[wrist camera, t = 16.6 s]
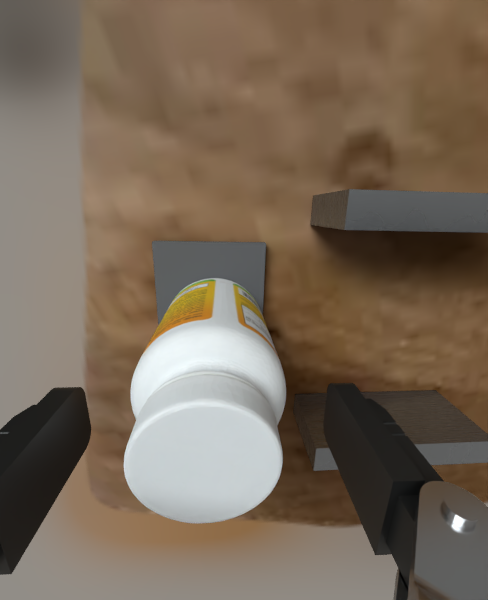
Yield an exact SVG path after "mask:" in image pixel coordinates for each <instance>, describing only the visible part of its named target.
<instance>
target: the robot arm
mask: <svg viewBox="0 0 488 600" xmlns="http://www.w3.org/2000/svg"><path fill="white" fill-rule="evenodd" d="M323 428H324V435H325V439H326V442H327V444H328V446H329V449H330V451H331V453H332V456H333V458H334V460H335V463H336V465H337V467H338V470H339V472H340V474H341V477H342V479H343V481H344V484H345V486H346V488H347V490H348V493H349V495H350V497H351V500H352V502H353V504H354V507H355V509H356V511H357V514H358V516H359V518H360V521H361V523H362V525H363V528H364V530H365V532H366V534H367V537H368V539H369V541H370V544H371V546H372V548H373V551H374V553H375V555H387V554H392V556H393V558H394V560H395V562H396V564H397V566H398V570H397V575H396V582H395V591H394V600H488V507H487V506H486V505H485V504H484V503H483V502H481V501H480V500H479V499H478V498H477V497H475V496H474V495H472V494H471V493H469V492H468V491H466V490H464V489H462V488H460V487H458V486H456V485H453V484H451V483H447V482H444V481H443V480H442V479H441V477H440V476H439V475H438V474H437V472H436V471H435V470H434V469H433V467H432V466H431V465H430V464H429V462H428V461H427V460H426V459H425V457H424V456H423V455H422V454H421V452H420V451H419V450H418V449H417V447H416V446H415V445H414V444H413V442H412V441H411V440H410V439H409V437H408V436H405V432H404V431H403V430H402V429H401V428H400V426H399V425H397V424H396V421H395V420H394V419H393V418H392V416H391V415H390V414H389V413H388V411H387V410H386V409H385V408H383V407H382V406H381V405H379V404H378V403H377V402H375V401H374V400H372V399H365V398H364V396H363V395H362V394H361V392H360V391H359V390H358V388H357V387H356V386H355V384H353V383H331V384H329V386H328V389H327V397H326V404H325V412H324V420H323ZM90 435H91V424H90V419H89V413H88V408H87V402H86V397H85V392H84V390H83V389H82V388H81V387H74V388H73V387H72V388H71V387H68V388H53V389H52V390H51V391H50V392H49V393H48V394H47V395H46V396H45V397H44V398H43V399H42V400H41V401H40V402H39V403H38V404H37V405H32V406H31V407H29V408H27V409H26V410H24V411H23V412H21V413H20V414H18V415H16V416H14V417H13V418H12V419H11V420H10V421H9V422H8V423H7V424H6V425H5V426H4V427H3V428H2V429H1V430H0V574H12V572H13V570H14V569H15V567H16V565H17V564H18V562H19V560H20V559H21V557H22V555H23V554H24V552H25V550H26V548H27V547H28V545H29V543H30V542H31V540H32V539H33V537H34V535H35V534H36V532H37V530H38V528H39V527H40V525H41V523H42V522H43V520H44V518H45V517H46V515H47V513H48V512H49V510H50V508H51V507H52V505H53V503H54V502H55V500H56V498H57V496H58V495H59V493H60V491H61V490H62V488H63V486H64V485H65V483H66V481H67V480H68V478H69V476H70V475H71V473H72V471H73V470H74V468H75V466H76V465H77V463H78V461H79V460H80V458H81V456H82V455H83V453H84V451H85V450H86V448H87V446H88V443H89V440H90Z"/></svg>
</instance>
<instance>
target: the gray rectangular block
mask: <svg viewBox="0 0 488 600" xmlns="http://www.w3.org/2000/svg"><path fill="white" fill-rule="evenodd" d="M152 247H153V260H154V273H155V286H156V298H157V311H158V324H160V322H161V321H162V319H163V317H164V315H165V313H166V312H167V310H168V308H169V306H170V304H171V303H172V301H173V300H174V298H175V297H176V296H177V295H178V293H179V292H180V291H181V290H183V289H184V288H185V287H187V286H188V285H190V284H192V283H194V282H197V281H200V280H203V279H209V278H220V279H226V280H230V281H233V282H235V283H237V284H239V285H241V286H242V287H243V288H245V289H246V290H247V291H248V292H249V293H250V294H251V295H252V296H253V297H254V299H255V300H256V302H257V304H258V306H259V308H260V310H261V313H262V315H263V298H264V276H265V254H266V243H265V242H202V241H153V242H152Z"/></svg>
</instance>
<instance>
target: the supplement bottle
mask: <svg viewBox="0 0 488 600" xmlns="http://www.w3.org/2000/svg"><path fill="white" fill-rule="evenodd" d="M285 401H286V384H285V378H284V373H283V370H282V366H281V363H280V360H279V357H278V355H277V352H276V350H275V347H274V344H273V342H272V339H271V337H270V334H269V331H268V329H267V326H266V323H265V321H264V318H263V315H262V313H261V310H260V308H259V306H258V304H257V302H256V300H255V299H254V297H253V296H252V295H251V294H250V293H249V292H248V291H247V290H246V289H245V288H243V287H242V286H241V285H239V284H237V283H235V282H233V281H230V280H226V279H220V278H209V279H203V280H200V281H197V282H194V283H192V284H190V285H188V286H187V287H185V288H184V289H183V290H181V291H180V292H179V293H178V295H177V296H176V297H175V298H174V300H173V301H172V303H171V304H170V306H169V308H168V310H167V312H166V313H165V315H164V317H163V319H162V321H161V322H160V324H159V326H158V328H157V329H156V331H155V333H154V335H153V337H152V338H151V340H150V342H149V344H148V346H147V347H146V349H145V351H144V353H143V355H142V356H141V358H140V360H139V363H138V365H137V367H136V370H135V372H134V375H133V379H132V384H131V404H132V409H133V413H134V415H135V418H136V423H135V425H134V428H133V431H132V433H131V436H130V439H129V441H128V444H127V447H126V450H125V456H124V473H125V477H126V480H127V483H128V485H129V487H130V489H131V490H132V492H133V494H134V495H135V496H136V497H137V499H138V500H139V501H140V502H141V503H142V504H144V505H145V506H146V507H147V508H149V509H150V510H152V511H154V512H156V513H158V514H159V515H162V516H164V517H167V518H169V519H172V520H177V521H181V522H186V523H214V522H219V521H224V520H228V519H231V518H234V517H237V516H239V515H242V514H244V513H246V512H248V511H249V510H251V509H253V508H255V507H256V506H257V505H259V504H260V503H261V502H262V501H263V500H264V499H265V498H266V497H267V496H268V495H269V494H270V493H271V492H272V490H273V488H274V487H275V486H276V483H277V481H278V479H279V477H280V474H281V469H282V464H283V451H282V446H281V441H280V436H279V432H278V427H277V425H278V423H279V421H280V419H281V416H282V414H283V410H284V407H285Z"/></svg>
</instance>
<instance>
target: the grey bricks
mask: <svg viewBox="0 0 488 600" xmlns="http://www.w3.org/2000/svg"><path fill="white" fill-rule="evenodd" d="M310 225H316V226H322V227H329V228H335V229H341V230H373V231H428V232H483V233H488V193H454V192H421V191H387V190H353V189H349V190H343V191H337V192H331V193H325V194H320V195H314V196H313V202H312V213H311V224H310ZM361 394H362V395H363V396H364V398H365V399H372V400H374V401H375V402H377V403H378V404H379V405H381V406H382V407H383V408H385V409H386V410H387V411H388V413H389V414H390V415H391V416H392V418H393V419H394V420H395V421H396V424H397V425H399V426H400V428H401V429H402V430H403V431H404V432H405V436H408V437H409V439H410V440H411V441H412V442H413V444H414V445H415V446H416V447H417V449H418V450H419V451H420V452H421V454H422V455H423V456H424V457H425V459H426V460H427V461H428V462H429V464H430V465H444V464H465V463H486V462H488V434H487V433H486V432H484V431H483V430H482V429H481V428H480V427H479V426H477V425H476V424H475V423H474V422H473V421H471V420H470V419H469V418H468V417H467V416H466V415H464V414H463V413H462V412H461V411H460V410H458V409H457V408H456V407H455V406H454V405H452V404H451V403H450V402H449V401H448V400H447V399H445V398H444V397H443V396H442V395H441V394H439V393H438V392H437V391H436V390H429V391H392V392H361ZM326 397H327V393H317V394H295V399H294V410H293V413H294V416H295V419H296V422H297V425H298V428H299V431H300V433H301V436H302V439H303V442H304V445H305V448H306V451H307V454H308V456H309V459H310V462H311V465H312V468H313V471H319V470H338V467H337V465H336V463H335V460H334V458H333V456H332V453H331V451H330V449H329V446H328V444H327V442H326V439H325V435H324V428H323V420H324V412H325V404H326Z"/></svg>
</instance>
